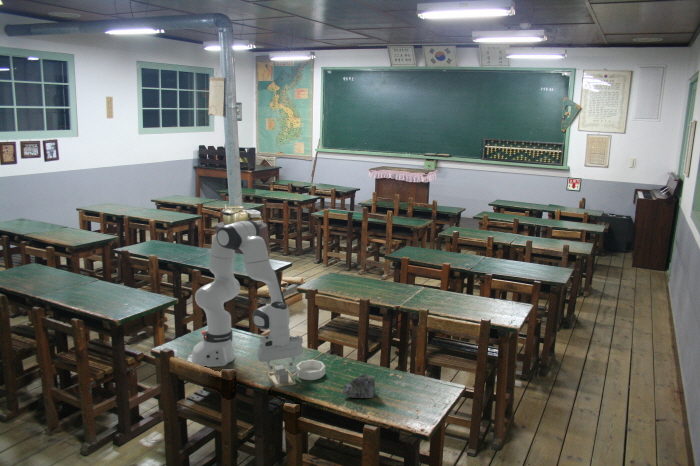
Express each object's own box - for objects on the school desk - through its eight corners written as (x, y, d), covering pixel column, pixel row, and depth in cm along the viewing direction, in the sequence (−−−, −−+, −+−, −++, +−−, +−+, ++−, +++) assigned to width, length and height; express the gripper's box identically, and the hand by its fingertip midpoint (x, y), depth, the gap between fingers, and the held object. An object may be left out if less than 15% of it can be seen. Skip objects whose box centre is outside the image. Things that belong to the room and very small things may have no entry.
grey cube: (276, 379, 245) (276, 369, 245) (274, 375, 249) (274, 366, 248) (285, 377, 247) (284, 368, 246) (282, 373, 250) (282, 364, 250)
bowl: (301, 383, 243) (301, 373, 243) (293, 371, 255) (293, 362, 254) (327, 378, 248) (327, 369, 247) (319, 367, 259) (319, 358, 258)
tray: (273, 388, 238) (273, 385, 237) (267, 376, 249) (266, 372, 249) (296, 385, 241) (296, 381, 241) (288, 372, 253) (288, 369, 253)
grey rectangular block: (279, 385, 240) (279, 375, 239) (277, 381, 244) (277, 371, 243) (288, 383, 241) (288, 374, 240) (286, 379, 245) (286, 370, 244)
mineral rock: (341, 398, 231) (341, 376, 229) (350, 387, 241) (350, 365, 239) (370, 404, 226) (370, 381, 224) (378, 392, 236) (379, 371, 234)
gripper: (300, 332, 251) (301, 360, 253) (256, 339, 243) (257, 368, 246) (304, 337, 245) (305, 366, 248) (259, 344, 238) (260, 373, 240)
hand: (280, 367), depth 247 cm, fingers open, 8 cm apart
